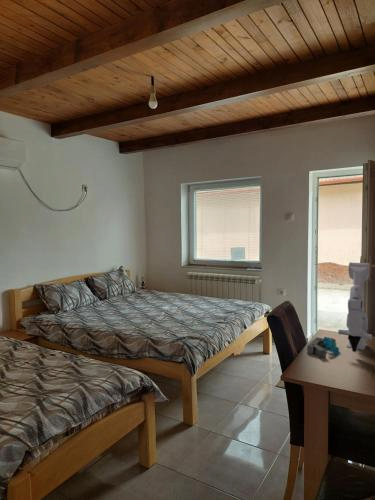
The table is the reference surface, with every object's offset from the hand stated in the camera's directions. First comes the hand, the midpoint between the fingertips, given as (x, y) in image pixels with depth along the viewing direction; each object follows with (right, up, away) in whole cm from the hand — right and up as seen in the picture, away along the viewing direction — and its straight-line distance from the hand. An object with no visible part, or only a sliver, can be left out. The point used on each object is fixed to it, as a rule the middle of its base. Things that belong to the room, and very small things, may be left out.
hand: (354, 351), depth 170 cm
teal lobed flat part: (-8, -3, +6) cm, 11 cm away
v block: (-12, -2, +9) cm, 15 cm away
